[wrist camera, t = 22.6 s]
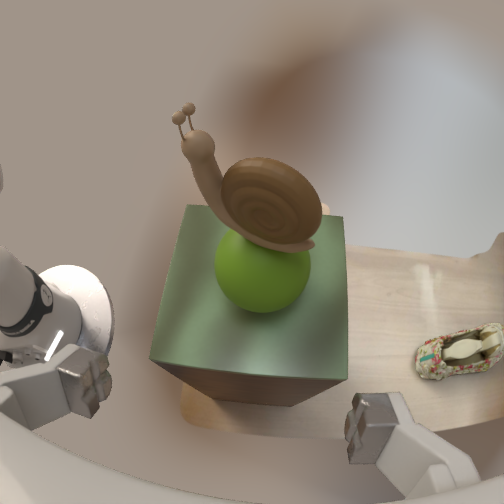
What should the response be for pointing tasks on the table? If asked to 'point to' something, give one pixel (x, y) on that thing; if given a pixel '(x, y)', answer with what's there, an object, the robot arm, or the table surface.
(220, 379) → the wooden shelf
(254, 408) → the table surface
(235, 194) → the snail figurine
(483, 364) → the ballet flat
